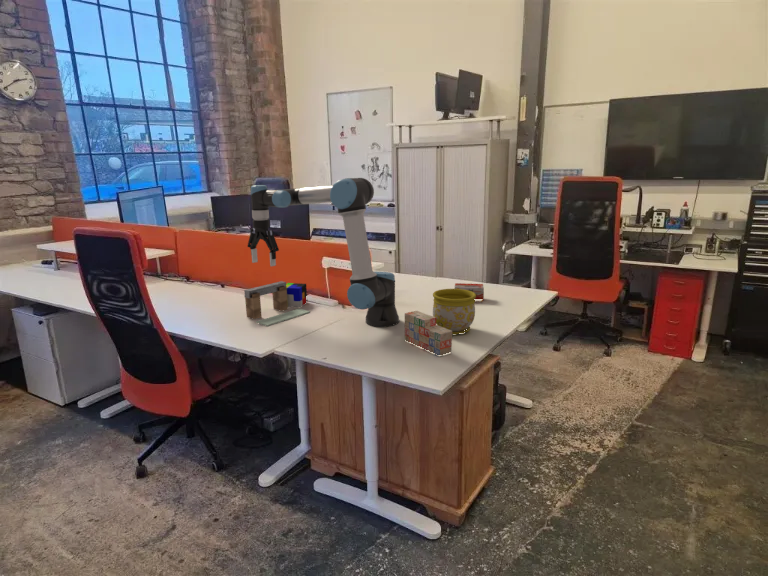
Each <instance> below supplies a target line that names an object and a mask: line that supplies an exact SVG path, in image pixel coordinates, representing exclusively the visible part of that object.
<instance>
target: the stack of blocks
mask: <svg viewBox="0 0 768 576" xmlns="http://www.w3.org/2000/svg"><path fill="white" fill-rule="evenodd" d="M405 340H406V341H408V342H411V343H413V344H415V345H417V346H420V347H422V348H424V349H426V350H429V351H430V352H433V353H435V354H437V355H443V354H446V353H449V352H451V353H452V345H453V335H452V331H451V330H448V329H446V328H443V327H441V326H438V325H437V324H436V317H433V315H430V314H428V313H425V312H421V311H419V310H412V311H409V312H406V313H405V312H404V341H405Z"/></svg>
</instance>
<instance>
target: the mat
mask: <svg viewBox="0 0 768 576" xmlns="http://www.w3.org/2000/svg"><path fill="white" fill-rule="evenodd" d="M310 313H311V311H310V310H306V309H302V308H295V309H293V310H289V311H286V312H283V313H280V314H277V315H273V316H269V317H266V318H263V319H260V320H257V321H255V323H256V324H258V323H259V325H261V324H262V325H261V326H265V325H266V326H265V327H269V326H272V324H273V325H276V324H278V322H279V323H282V322H284V320H285V321H287V320H292V319H294V318H297V316H298V317H301V316H304V315H307V314H310ZM303 314H304V315H303ZM281 321H282V322H281ZM275 323H276V324H275Z"/></svg>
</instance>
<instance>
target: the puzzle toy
mask: <svg viewBox="0 0 768 576" xmlns="http://www.w3.org/2000/svg"><path fill="white" fill-rule="evenodd" d="M286 288H287V305H288V308H298V307H300V308H302V307H303V306H305V305H306V304H307V303H306V296H307V297H308V291H307V283H301V282H299V283H298V282H297V283H296V282H294V283H293V282H286ZM305 303H306V304H305ZM301 306H302V307H301Z"/></svg>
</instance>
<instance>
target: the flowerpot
mask: <svg viewBox="0 0 768 576" xmlns="http://www.w3.org/2000/svg"><path fill="white" fill-rule="evenodd" d="M432 296H433V305H432V306H433V307H432V316H433V317H436V325H438V326H441V327H443V328H446V329H448V330H451V331H452V334H459V333H464V332H467V331H468V332H469V331H471V326H472V324H473V322H474V320H475V316H476V304H475V303H476V302H475V300H474V299H475V298H476V294H475V293H474V292H472V291H469V290H464V289H454V288H442V289H438V290H436V291H434V292H433V293H432ZM466 329H467V330H466ZM464 330H465V331H464ZM468 332H467V333H468Z"/></svg>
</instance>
